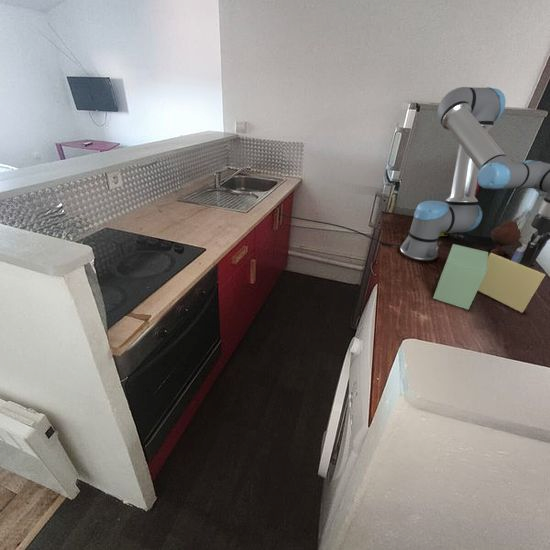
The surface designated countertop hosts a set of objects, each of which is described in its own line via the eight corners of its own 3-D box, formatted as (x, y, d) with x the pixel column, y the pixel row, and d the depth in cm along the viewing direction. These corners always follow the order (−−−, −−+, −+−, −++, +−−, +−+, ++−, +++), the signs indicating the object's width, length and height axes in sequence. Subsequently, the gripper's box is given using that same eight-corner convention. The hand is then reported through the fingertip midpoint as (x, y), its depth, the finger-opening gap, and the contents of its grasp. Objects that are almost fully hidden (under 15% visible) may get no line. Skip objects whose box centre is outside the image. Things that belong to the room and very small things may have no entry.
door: (482, 284, 111) (499, 249, 104) (530, 307, 100) (553, 270, 92) (473, 288, 109) (489, 253, 101) (521, 312, 97) (544, 275, 89)
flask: (511, 271, 120) (523, 248, 115) (504, 268, 122) (515, 245, 117) (522, 266, 124) (534, 243, 119) (514, 263, 127) (526, 240, 121)
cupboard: (471, 287, 109) (488, 252, 101) (468, 309, 98) (486, 271, 90) (439, 278, 114) (453, 243, 106) (432, 298, 103) (447, 261, 95)
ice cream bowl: (478, 247, 139) (491, 217, 131) (499, 247, 140) (514, 217, 132) (494, 258, 130) (509, 226, 122) (517, 257, 131) (533, 226, 123)
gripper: (561, 225, 82) (522, 293, 95) (574, 215, 89) (535, 281, 101) (529, 217, 87) (496, 283, 100) (543, 208, 94) (511, 271, 106)
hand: (516, 282), depth 100 cm, fingers closed
